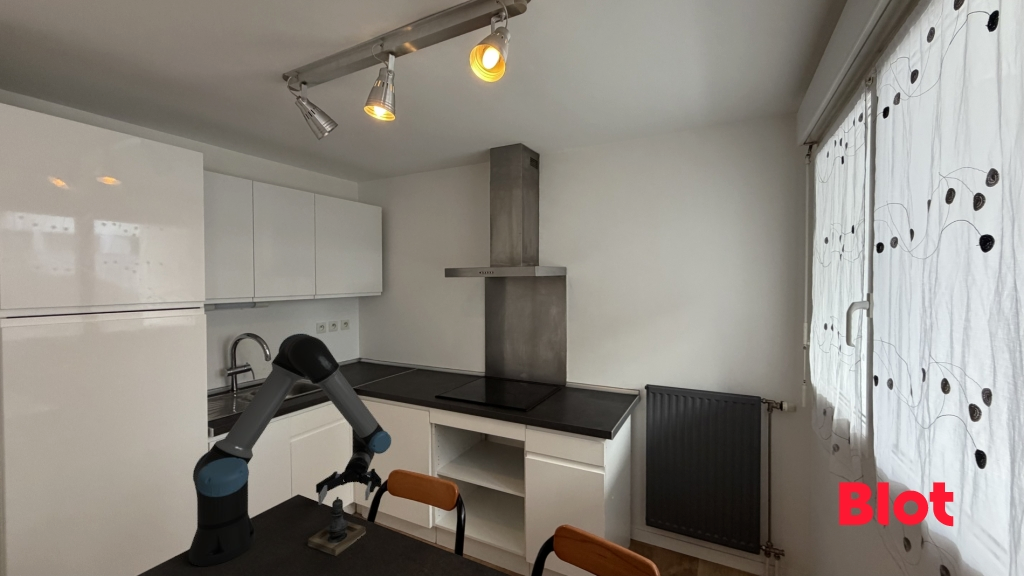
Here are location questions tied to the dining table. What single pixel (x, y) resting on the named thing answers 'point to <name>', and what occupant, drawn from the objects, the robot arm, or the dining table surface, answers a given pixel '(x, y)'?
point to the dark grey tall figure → (337, 523)
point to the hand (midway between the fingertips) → (343, 498)
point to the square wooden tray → (334, 549)
